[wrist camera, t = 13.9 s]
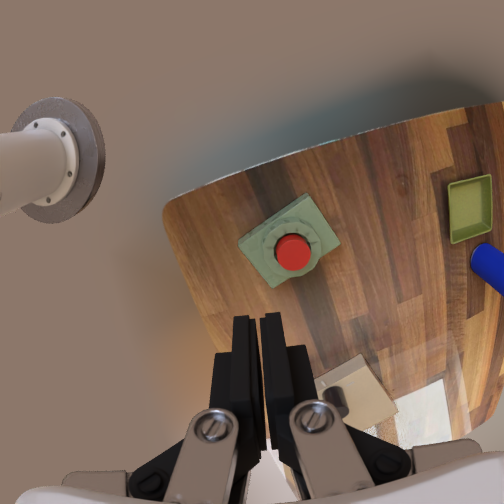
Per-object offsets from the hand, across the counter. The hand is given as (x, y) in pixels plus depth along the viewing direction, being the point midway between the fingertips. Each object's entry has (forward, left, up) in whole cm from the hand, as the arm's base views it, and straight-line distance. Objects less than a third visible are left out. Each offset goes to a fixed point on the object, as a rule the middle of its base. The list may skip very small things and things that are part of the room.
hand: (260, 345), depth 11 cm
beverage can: (+24, -28, -27) cm, 45 cm away
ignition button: (0, -7, -23) cm, 24 cm away
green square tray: (+24, -18, -27) cm, 40 cm away
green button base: (0, -7, -26) cm, 27 cm away
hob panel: (-8, -39, -26) cm, 48 cm away
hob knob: (-8, -32, -23) cm, 40 cm away
